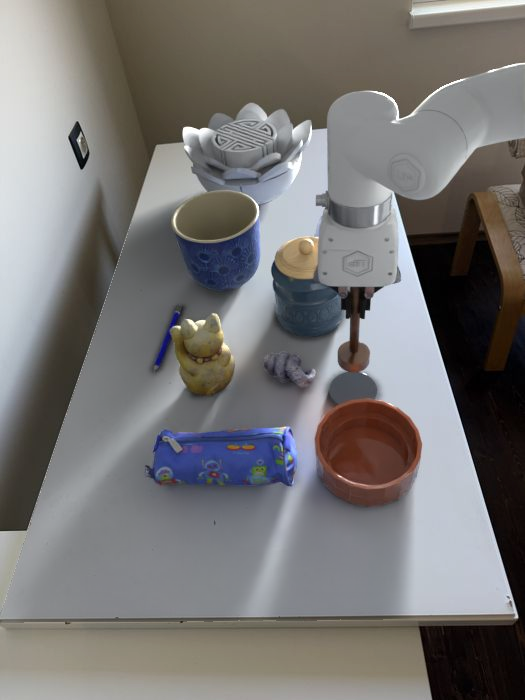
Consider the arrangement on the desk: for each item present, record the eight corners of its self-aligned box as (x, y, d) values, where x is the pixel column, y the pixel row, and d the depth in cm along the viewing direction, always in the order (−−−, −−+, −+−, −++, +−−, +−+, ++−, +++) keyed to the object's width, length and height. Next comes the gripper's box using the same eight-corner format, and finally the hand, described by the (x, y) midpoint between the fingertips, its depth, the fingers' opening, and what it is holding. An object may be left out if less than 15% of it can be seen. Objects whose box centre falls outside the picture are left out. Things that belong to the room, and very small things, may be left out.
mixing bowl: (438, 466, 84) (444, 444, 79) (366, 529, 79) (367, 510, 74) (365, 405, 93) (367, 382, 88) (296, 458, 87) (293, 437, 83)
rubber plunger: (376, 361, 88) (382, 283, 76) (353, 377, 86) (356, 301, 74) (353, 343, 91) (356, 266, 79) (331, 359, 89) (330, 282, 77)
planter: (283, 270, 117) (277, 209, 106) (223, 315, 110) (210, 254, 99) (228, 240, 126) (218, 180, 115) (170, 279, 119) (153, 219, 108)
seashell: (316, 387, 98) (265, 372, 101) (322, 358, 96) (270, 343, 100) (305, 394, 93) (252, 377, 97) (311, 363, 92) (257, 348, 95)
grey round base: (387, 392, 94) (387, 390, 93) (352, 419, 91) (352, 417, 91) (353, 366, 98) (353, 363, 98) (319, 390, 96) (319, 388, 95)
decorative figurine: (231, 359, 102) (218, 299, 91) (244, 392, 97) (232, 333, 86) (180, 375, 101) (160, 317, 90) (191, 410, 96) (172, 352, 84)
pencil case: (154, 496, 85) (137, 465, 78) (163, 447, 91) (148, 414, 84) (298, 497, 83) (294, 464, 76) (298, 447, 89) (295, 412, 81)
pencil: (178, 307, 113) (177, 304, 112) (182, 308, 113) (181, 304, 112) (153, 372, 102) (151, 369, 101) (157, 373, 102) (156, 369, 101)
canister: (286, 345, 103) (278, 273, 90) (269, 300, 112) (260, 227, 99) (353, 329, 104) (355, 254, 91) (331, 285, 113) (330, 211, 100)
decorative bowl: (164, 203, 138) (148, 147, 127) (244, 150, 152) (236, 95, 141) (254, 246, 124) (246, 187, 112) (334, 182, 137) (334, 124, 126)
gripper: (291, 222, 66) (299, 330, 79) (428, 221, 63) (412, 332, 77) (296, 186, 70) (303, 293, 84) (424, 184, 68) (409, 294, 82)
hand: (355, 311), depth 80 cm, fingers closed on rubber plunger, 1 cm apart
